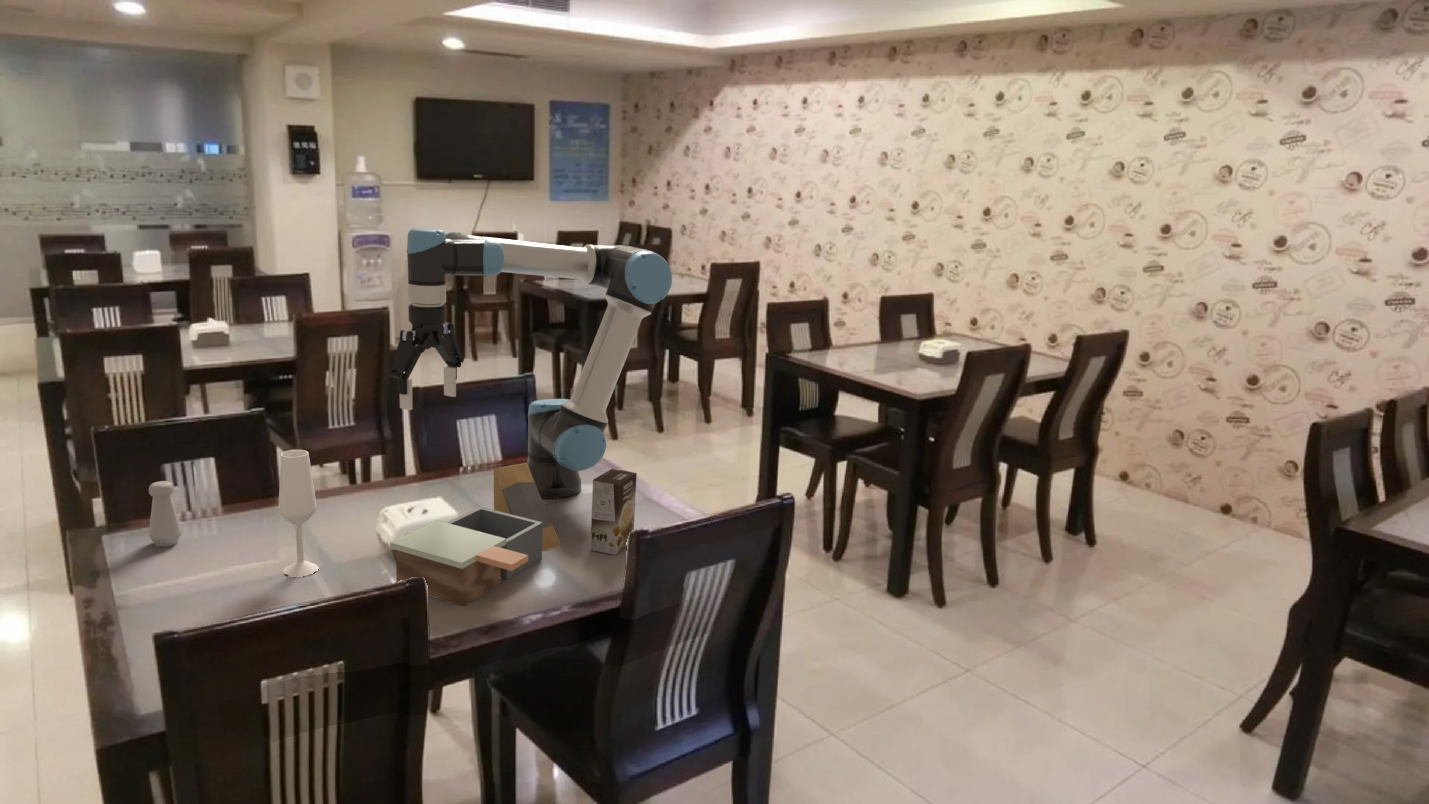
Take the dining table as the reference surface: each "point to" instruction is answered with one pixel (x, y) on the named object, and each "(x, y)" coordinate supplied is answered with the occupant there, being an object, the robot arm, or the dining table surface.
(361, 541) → the dining table surface
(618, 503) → the coffee box
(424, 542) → the lid
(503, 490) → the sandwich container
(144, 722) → the dining table surface
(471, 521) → the tub
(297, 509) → the champagne flute
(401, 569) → the stand
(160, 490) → the salt shaker
